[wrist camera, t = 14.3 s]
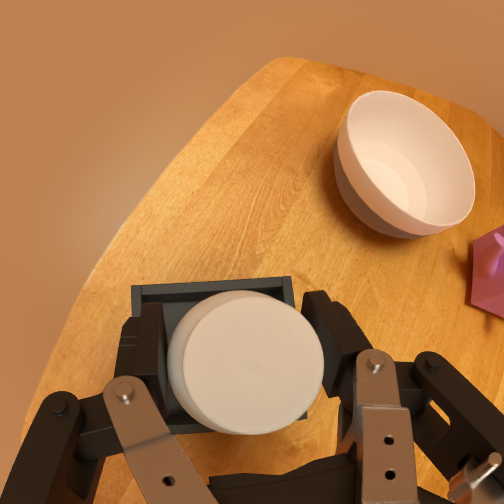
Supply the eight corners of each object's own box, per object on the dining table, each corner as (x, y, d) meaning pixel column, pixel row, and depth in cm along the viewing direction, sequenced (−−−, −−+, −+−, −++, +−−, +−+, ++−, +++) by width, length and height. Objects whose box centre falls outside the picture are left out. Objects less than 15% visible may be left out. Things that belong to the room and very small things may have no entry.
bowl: (442, 201, 38) (487, 168, 29) (391, 287, 33) (447, 262, 24) (357, 120, 40) (389, 73, 31) (285, 186, 35) (313, 132, 26)
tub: (152, 421, 25) (143, 435, 20) (141, 297, 29) (130, 285, 24) (289, 408, 28) (307, 418, 23) (275, 288, 31) (291, 275, 26)
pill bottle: (238, 295, 19) (277, 235, 10) (291, 370, 18) (378, 379, 9) (159, 346, 17) (117, 336, 8) (214, 423, 16) (232, 490, 7)
